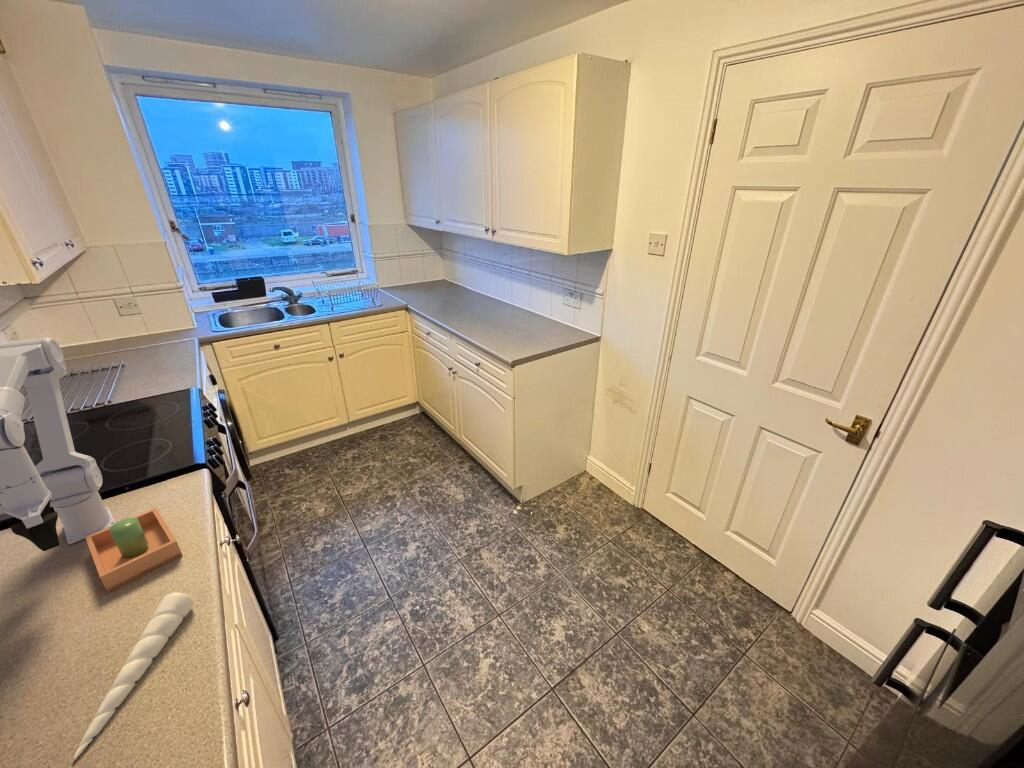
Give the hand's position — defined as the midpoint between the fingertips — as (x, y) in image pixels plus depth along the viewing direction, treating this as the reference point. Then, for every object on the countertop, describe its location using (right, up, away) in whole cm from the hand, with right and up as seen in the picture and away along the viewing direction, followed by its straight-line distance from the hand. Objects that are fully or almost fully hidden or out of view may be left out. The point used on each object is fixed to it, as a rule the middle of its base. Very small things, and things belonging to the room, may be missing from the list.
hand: (48, 537), depth 80 cm
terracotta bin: (+9, -7, +9) cm, 14 cm away
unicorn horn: (+29, -17, -12) cm, 36 cm away
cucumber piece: (+9, -6, +9) cm, 14 cm away
